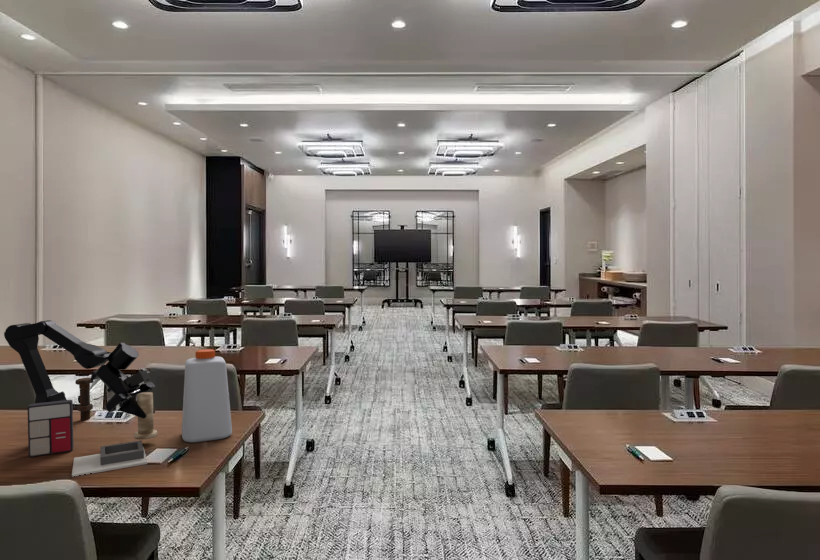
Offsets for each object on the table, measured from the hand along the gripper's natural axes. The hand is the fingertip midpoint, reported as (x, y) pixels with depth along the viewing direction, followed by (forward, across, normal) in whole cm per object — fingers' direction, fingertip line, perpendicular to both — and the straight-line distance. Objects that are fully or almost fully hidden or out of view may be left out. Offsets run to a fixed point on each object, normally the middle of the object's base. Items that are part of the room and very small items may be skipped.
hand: (149, 415), depth 169 cm
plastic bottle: (+16, +9, -4) cm, 19 cm away
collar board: (+4, -16, +8) cm, 19 cm away
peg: (+4, 0, +6) cm, 7 cm away
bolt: (-21, +26, +35) cm, 48 cm away
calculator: (-11, -9, +25) cm, 29 cm away
